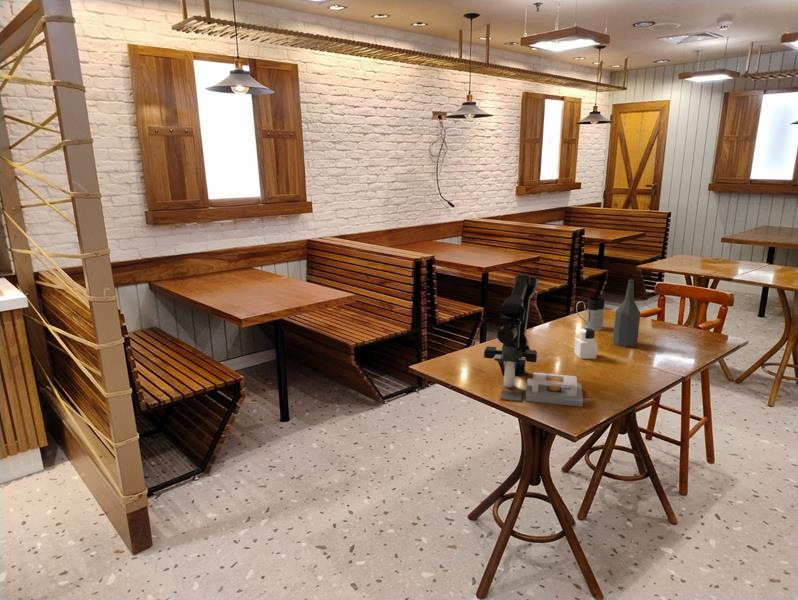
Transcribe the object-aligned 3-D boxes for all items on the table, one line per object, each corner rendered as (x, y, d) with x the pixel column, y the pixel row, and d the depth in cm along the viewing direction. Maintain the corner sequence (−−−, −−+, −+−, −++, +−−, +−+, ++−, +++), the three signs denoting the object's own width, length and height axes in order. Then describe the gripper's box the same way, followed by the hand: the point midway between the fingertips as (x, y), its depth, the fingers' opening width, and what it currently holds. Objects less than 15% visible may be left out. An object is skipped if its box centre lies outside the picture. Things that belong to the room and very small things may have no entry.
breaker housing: (527, 383, 206) (528, 368, 204) (580, 388, 201) (581, 373, 199) (525, 400, 191) (526, 384, 189) (582, 406, 186) (584, 390, 184)
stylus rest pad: (502, 391, 198) (502, 390, 198) (521, 394, 196) (521, 392, 196) (500, 399, 191) (500, 398, 191) (520, 402, 190) (520, 400, 190)
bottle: (631, 340, 254) (638, 277, 247) (640, 347, 245) (647, 282, 238) (609, 340, 255) (615, 277, 247) (617, 347, 245) (623, 282, 238)
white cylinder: (502, 384, 204) (503, 357, 202) (512, 384, 205) (513, 356, 202) (505, 389, 200) (506, 360, 198) (515, 388, 201) (517, 360, 198)
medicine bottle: (590, 353, 238) (592, 326, 235) (596, 358, 231) (598, 331, 228) (574, 353, 238) (576, 326, 235) (579, 359, 231) (582, 331, 228)
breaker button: (548, 386, 198) (548, 379, 197) (559, 387, 196) (560, 380, 196) (548, 390, 194) (548, 383, 193) (559, 391, 193) (560, 384, 192)
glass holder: (606, 330, 270) (608, 300, 267) (577, 330, 270) (579, 301, 266) (599, 325, 279) (602, 296, 275) (571, 325, 278) (574, 296, 275)
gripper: (482, 340, 193) (481, 381, 196) (537, 344, 188) (534, 387, 192) (486, 331, 203) (485, 370, 207) (538, 335, 198) (535, 375, 202)
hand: (509, 376), depth 202 cm, fingers closed on white cylinder, 4 cm apart
